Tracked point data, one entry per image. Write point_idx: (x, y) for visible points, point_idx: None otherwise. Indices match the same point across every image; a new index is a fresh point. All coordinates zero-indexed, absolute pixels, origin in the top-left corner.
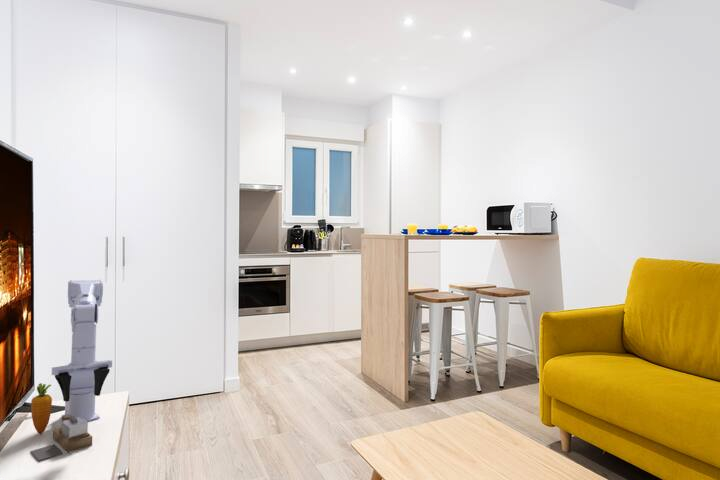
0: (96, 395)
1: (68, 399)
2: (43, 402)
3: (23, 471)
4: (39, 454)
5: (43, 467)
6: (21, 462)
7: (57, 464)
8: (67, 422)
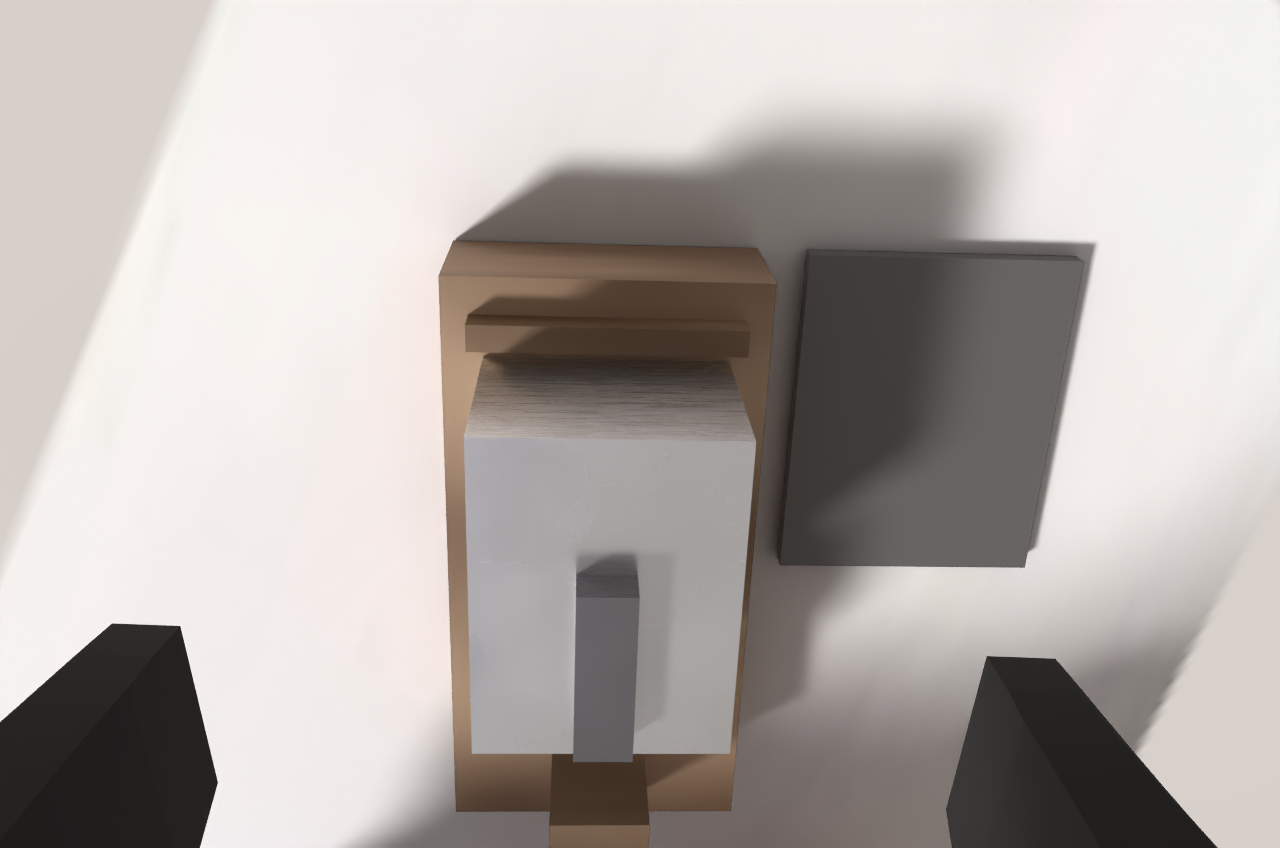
0: (190, 682)
1: (1029, 684)
2: None
3: None
4: (1008, 411)
5: (1117, 56)
6: (1189, 384)
7: (978, 4)
8: (692, 657)
